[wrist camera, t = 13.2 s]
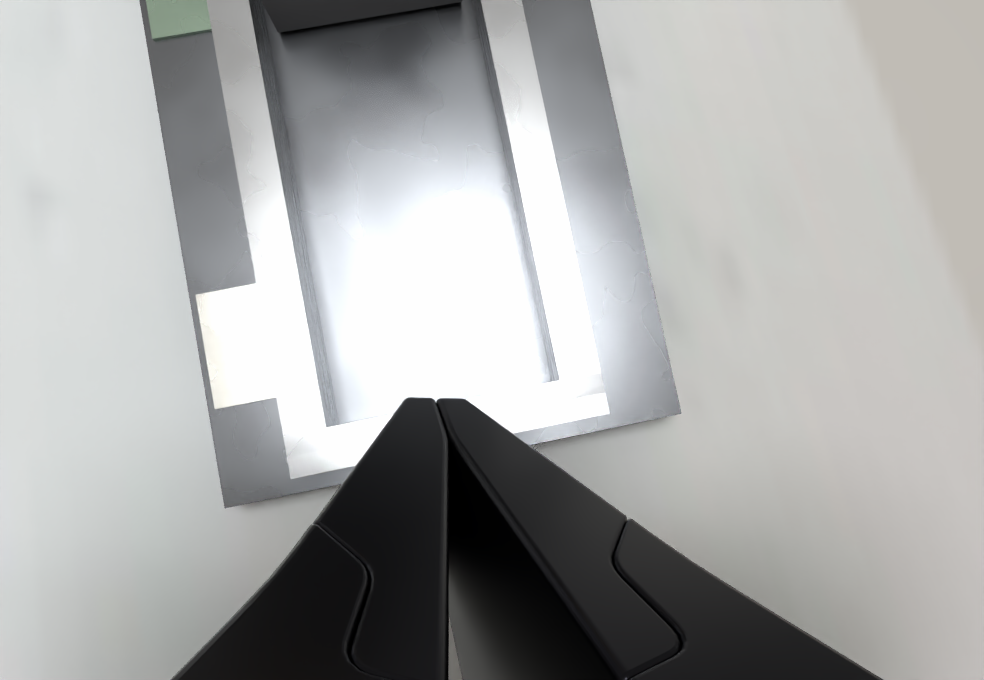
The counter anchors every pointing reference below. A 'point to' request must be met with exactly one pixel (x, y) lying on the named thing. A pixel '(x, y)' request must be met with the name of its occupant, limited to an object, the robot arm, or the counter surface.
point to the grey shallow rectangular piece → (401, 228)
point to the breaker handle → (336, 10)
